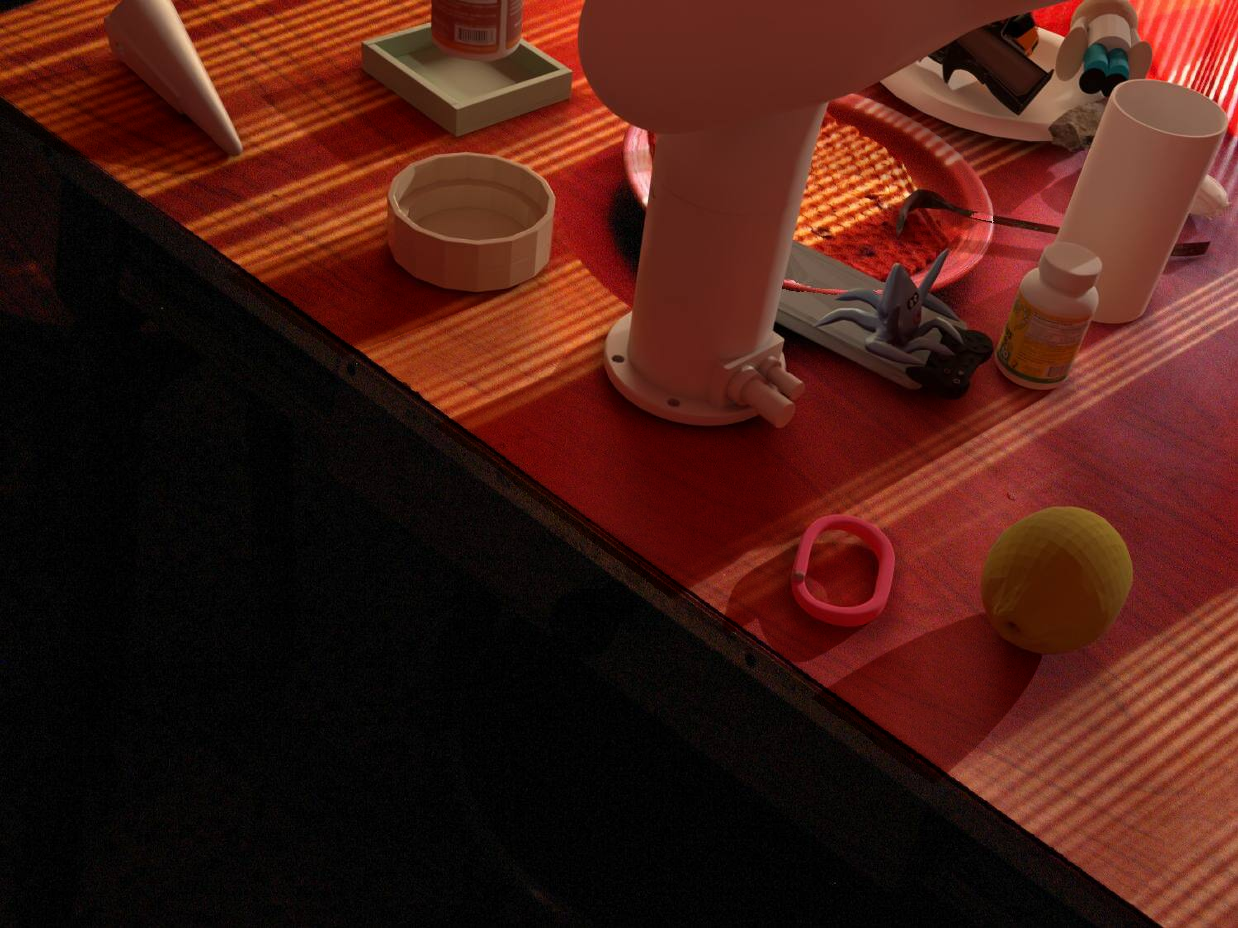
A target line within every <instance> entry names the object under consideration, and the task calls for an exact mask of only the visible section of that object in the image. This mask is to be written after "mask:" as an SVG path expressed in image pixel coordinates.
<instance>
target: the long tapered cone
mask: <svg viewBox="0 0 1238 928" xmlns="http://www.w3.org/2000/svg"><path fill="white" fill-rule="evenodd" d="M103 24H104V28H105V32H106V37H107V40H108V44H109V48H110V51H111V53H113V54H114V55H115V56H116V57H117V58H118V59H119V60H120V62H122V63H124V65H126V66H127V68H129V69H130V70H131V71H132V72H133V73H134V74H135V75H137V76H138V77H139V78H140V79H141V80H142V81H144V82H145V84H147V85H148V87H150V88H151V89H152V90H153V91H154V92H155V93H156V94H158V95H159V96H160V97H161V98H162V99H163V100H164V101H165V102H166V103H167V104H169V105H170V106H171V107H172V108H173V109H174V110H175V111H176V112H177V113H178V114H179V115H186V116H187V117H188V118H189V119H190V120H191V121H192V122H193V123H195V124H196V125H197V127H199V128H200V129H201V130H202V131H203V132H204V133H205V134H206V135H207V136H208V137H210V139H211V140H212V141H214V143H215V144H216V145H217V146H218V147H219V148H220V149H222V151H224V152H225V153H226V154H229V155H230V156H232V157H239V156H240V155H242V153H243V144H242V141H241V140H240V137H239V135H238V133H237V130H236V128H235V125H234V124H233V122H232V119H231V118H230V115H229V113H228V111H227V110H226V107H225V105H224V103H223V101H222V99H221V97H220V96H219V94H218V92H217V89H216V88H215V86H214V84H213V82H212V79H211V78H210V76H209V73H208V72H207V70H206V67H205V66H204V64H203V62H202V59H201V58H200V55H199V53H198V51H197V49H196V48H195V46H194V43H193V40H192V39H191V37H190V35H189V34H188V32H187V30H186V27H185V25H184V23H183V21H182V19H181V17H180V15H179V13H178V10H177V9H176V7H175V5H174V3H173V1H172V0H120V1H119V2H118V3H117V4H116V5H115V6H114V8H113V10H112V11H111V12H110V14H109V15H107V16H105V17H103Z"/></svg>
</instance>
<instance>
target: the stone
mask: <svg viewBox="0 0 1238 928" xmlns="http://www.w3.org/2000/svg"><path fill="white" fill-rule="evenodd" d="M1109 98H1110V97H1105V98H1103V99H1101V100H1100V101H1099V100H1098V101H1095V102H1093V103H1090V104H1089V103H1087V104H1085V105H1078V106H1076V107H1075V108H1073V109H1071V110H1068V111H1067V112H1066V113H1064V114H1063V115H1062V116H1061V117H1059V118H1058V119H1057V120H1056V121H1054V122H1053V123H1052V124H1051V125H1050V126H1049V128H1048V130H1049V131H1050V133H1051V135H1052V137H1053V141H1052V143H1051V145H1055V146H1059V147H1064V148H1066V149H1067V151H1068V152H1071V153H1078V152H1082V151H1086V150H1089V149H1090V147H1091V145H1092V142H1093V140H1094V137H1095V134H1096V132H1097V129H1098V126H1099V124H1100V121H1101V119H1102V116H1103V113H1104V111H1105V108H1106V106H1107V103H1108V100H1109Z"/></svg>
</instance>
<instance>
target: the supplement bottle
mask: <svg viewBox="0 0 1238 928" xmlns="http://www.w3.org/2000/svg"><path fill="white" fill-rule="evenodd" d="M1101 270H1102V263H1101V260H1100V259H1099V258H1098V257H1097V255H1096V254H1094V253H1093V252H1092V251H1090V250H1088V249H1087V248H1085V247H1082V246H1080V245H1077V244H1073V243H1067V242H1056V243H1054V242H1052V243H1049V244H1048V245H1047V246H1045V248H1044V250H1043V251H1042V254H1041V256H1040V258H1039V261H1038V267H1035V268H1033V269H1031V270H1030V271H1028V272H1027V273H1025V275H1024V276H1023V278H1022V280H1021V282H1020V284H1019V286H1018V290H1017V292H1016V295H1015V297H1014V302H1013V304H1012V306H1011V310H1010V312H1009V315H1008V317H1007V320H1006V322H1005V325H1004V328H1003V330H1002V333H1001V336H1000V339H999V342H998V344H997V346H996V350H995V353H994V361H995V364H996V366H997V368H998V369H999V371H1000V372H1001V374H1002V375H1003V376H1004V377H1005V378H1007V379H1008V380H1009V381H1011V382H1012V383H1014V384H1016V385H1017V386H1021V387H1024V388H1027V389H1030V390H1034V391H1035V390H1036V391H1046V390H1052V389H1056V388H1057V387H1060V386H1061V385H1063V384H1064V382H1065V381H1066V380H1067V378H1068V377H1069V374H1070V373H1071V371H1072V367H1073V365H1074V363H1075V360H1076V358H1077V355H1078V353H1079V351H1080V348H1081V346H1082V343H1083V341H1084V338H1085V337H1086V334H1087V331H1088V330H1089V327H1090V325H1091V323H1092V321H1091V320H1092V318H1093V315H1094V313H1095V311H1096V308H1097V306H1098V293H1097V290H1096V288H1095V287H1094V285H1095V284H1096V283H1097V281H1098V277H1099V275H1100V272H1101Z"/></svg>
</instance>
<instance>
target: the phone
mask: <svg viewBox="0 0 1238 928" xmlns="http://www.w3.org/2000/svg"><path fill="white" fill-rule="evenodd" d="M784 279H790V280H794V281H795V282H796V283H799V284H802V285H804V286H810V287H811V288H820V289H840V290H841V289H842V290H851V289H854V288H857V287H860V288H865V289H871V290H875V291H877V290H883V288H884V286H885V283H886V282H884V281H882V280H880V279H877V278H876V277H873V276H871V275H868V274H867V273H864V272H863V271H860V270H858V269H857V268H854V267H852V266H850V265H848V264H846V263H844V262H842V261H839V260H838V259H835V258H833V257H831V256H829V255H827V254H825V253H823V252H821V251H818V250H816V249H814V248H812V247H810V246H808V245H806V244H804V243H802V242H799V241H797V240H796V239H793V242H792V247H791V251H790V256H789V260H788V264H787V269H786V273H785V278H784ZM840 295H841V294H837V295H831V294H827V295H826V294H823V293H817V292H815V293H813V292H807V291H804V292H801V291H800V292H796V291H789V290H786V289H782V291H781V295H780V300H779V304H778V309H777V313H776V317H775V322H774V323H776V324H779V325H780V326H782V327H784V328H787V329H788V330H791V331H792V332H794V333H797V334H799V335H800V336H802V337H804V338H807V339H808V340H810V341H812V342H815V343H816V344H819V346H822V347H824V348H826V349H828V350H830V351H832V352H834V353H836V354H838V355H840V356H842V357H844V358H846V359H848V360H850V361H852V362H854V363H856V364H858V365H860V366H862V367H864V368H865V369H868V370H870V371H871V372H873V373H876V374H878V375H879V376H882V377H884V378H886V379H888V380H889V381H892V382H893V383H895V384H897V385H899V386H901V387H903V388H905V389H908V390H910V391H917V390H920V389H921V388H922V387H924V386H923V385H921V384H919V383H917V382H915V381H913V380H912V379H910V378H909V377H908V376H907V374H906V371H905V370H906V368H907V367H910V366H925V365H910V364H902V363H898V362H893V361H890V360H887V359H885V358H882V357H879V356H877V355H874V354H872V353H870V352H868V351H866V349H865V339H866V338H867V337H868V336H870V335H871V334H873V333H872V332H869V331H867V330H864V329H863V328H861V327H860V326H858V325H857V324H855V323H854V322H851V321H846V320H842V321H838V322H835V323H832V324H828V325H823V326H818V327H813V325H815V324H816V323H817V322H818V321H819V320H821V319H822V318H823V317H824V316H825V315H826V314H828V313H830V312H833V311H835V310H837V309H839V308H852V309H860V310H863V311H866V312H871V313H878V312H877V310H876V309H874V308H873V307H872V306H871V305H869V304H867V303H865V302H862V301H860V300H855V301H840V300H835V299H836V298H837V297H839V296H840ZM938 317H940V318H942V319H944V320H946V321H948V322H949V323H951V324H952V325H955V326H958V327H960V328H962V329H964V330H969V328H968V324H967V322H966V321H965V320H963V319H961V318H959V320H960V321H959V322H958V321H955V320H952V319H949V318H947V317H945V316H943V315H940V314H938V313H936V312H933V311H931V310H929V309H927V308H925V307H923V306H922V317H921V322H920V324H919V327H920V326H921V325H922V324H924V323H926V322H928V321H930V320H932V319H935V318H938ZM919 327H918V328H919ZM922 337H923V338H927V339H931V340H933V341H935V342H938V343H940V340H941V338H942V335H941V333H940V332H939V330H938V328H933V329H932V330H931V331H929V332H928V333H927V334H926V335H924V336H922ZM890 345H891V344H890ZM930 352H931V351H930V350H916V351H915V352H913V353H911V354H909V355H911V356H914V357H916V358H918V359H920V360H921V361H923V362H924V363H926V361H927V359H928V357H929V354H930Z"/></svg>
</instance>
